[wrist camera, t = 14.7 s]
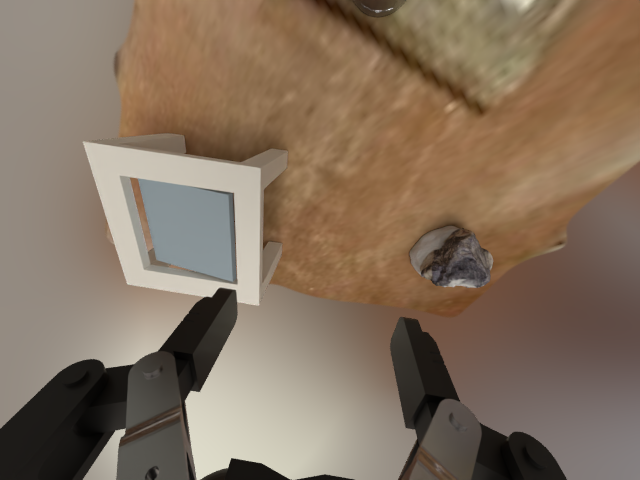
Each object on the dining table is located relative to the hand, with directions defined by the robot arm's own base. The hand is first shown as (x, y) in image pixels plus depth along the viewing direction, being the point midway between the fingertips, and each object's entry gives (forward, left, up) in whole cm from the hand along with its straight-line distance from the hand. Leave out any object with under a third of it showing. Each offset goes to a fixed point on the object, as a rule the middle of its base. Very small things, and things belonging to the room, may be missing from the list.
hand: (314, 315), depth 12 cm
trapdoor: (+9, -20, -22) cm, 31 cm away
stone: (+12, +23, -36) cm, 45 cm away
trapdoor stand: (+9, -20, -36) cm, 42 cm away
